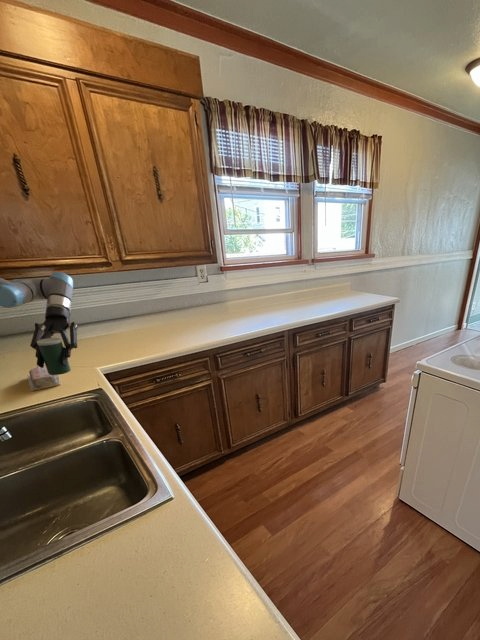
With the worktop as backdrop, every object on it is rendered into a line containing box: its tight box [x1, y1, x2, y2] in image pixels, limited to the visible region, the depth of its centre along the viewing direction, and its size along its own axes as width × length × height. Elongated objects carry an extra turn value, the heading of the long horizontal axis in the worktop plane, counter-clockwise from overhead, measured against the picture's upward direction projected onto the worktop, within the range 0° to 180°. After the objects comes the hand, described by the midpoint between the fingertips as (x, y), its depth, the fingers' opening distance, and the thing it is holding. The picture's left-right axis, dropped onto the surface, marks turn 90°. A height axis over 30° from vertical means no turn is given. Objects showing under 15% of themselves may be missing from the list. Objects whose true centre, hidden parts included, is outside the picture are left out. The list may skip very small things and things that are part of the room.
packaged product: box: [26, 364, 61, 392], centre depth 134 cm, size 18×5×10 cm
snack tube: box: [37, 337, 72, 376], centre depth 119 cm, size 7×7×12 cm
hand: (52, 365), depth 117 cm, fingers closed on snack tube, 7 cm apart
